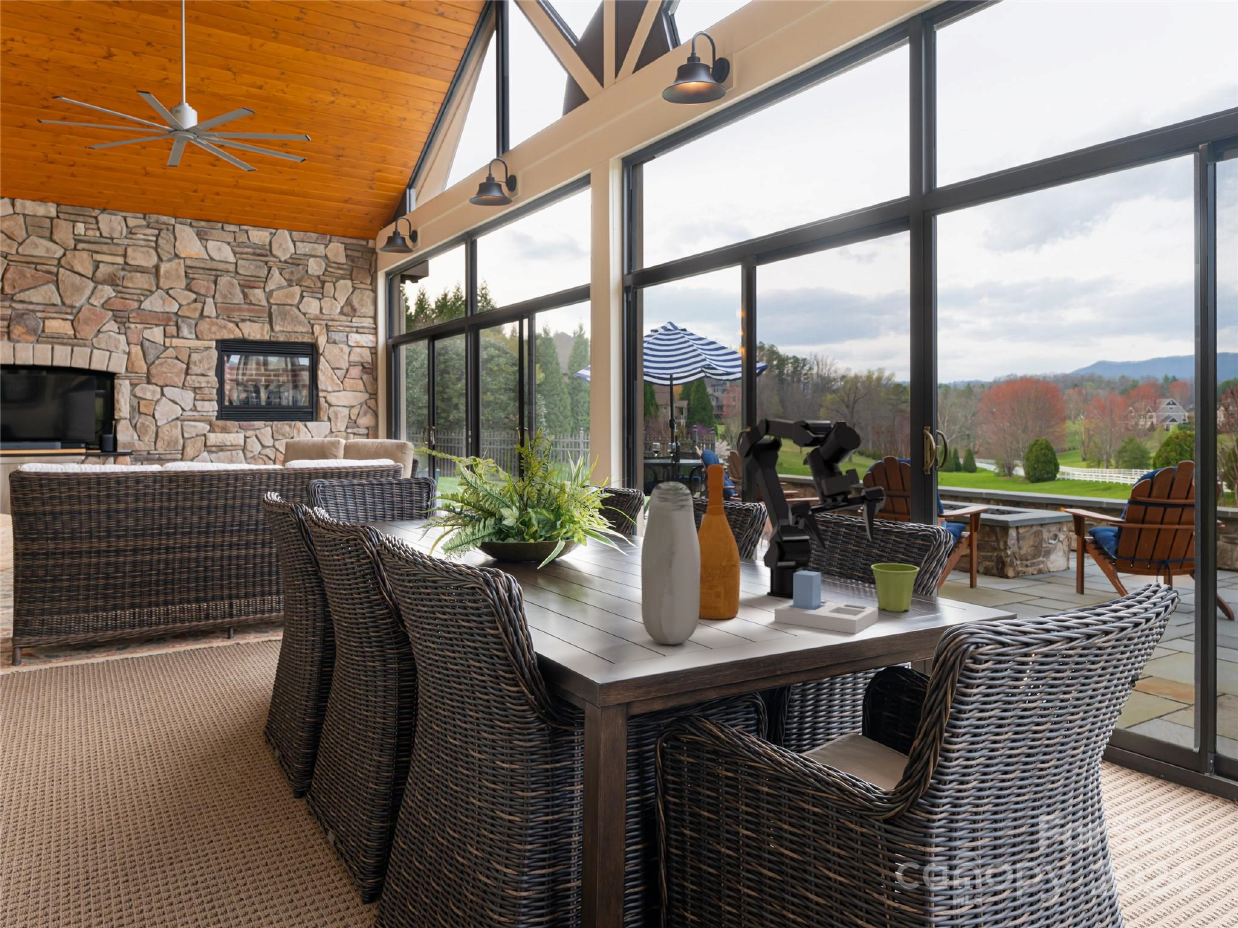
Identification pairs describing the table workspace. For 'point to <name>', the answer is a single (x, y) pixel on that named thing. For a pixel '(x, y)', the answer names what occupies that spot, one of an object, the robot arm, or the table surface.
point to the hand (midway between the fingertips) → (848, 545)
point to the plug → (807, 590)
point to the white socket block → (829, 616)
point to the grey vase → (670, 566)
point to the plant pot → (894, 585)
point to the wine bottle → (717, 555)
